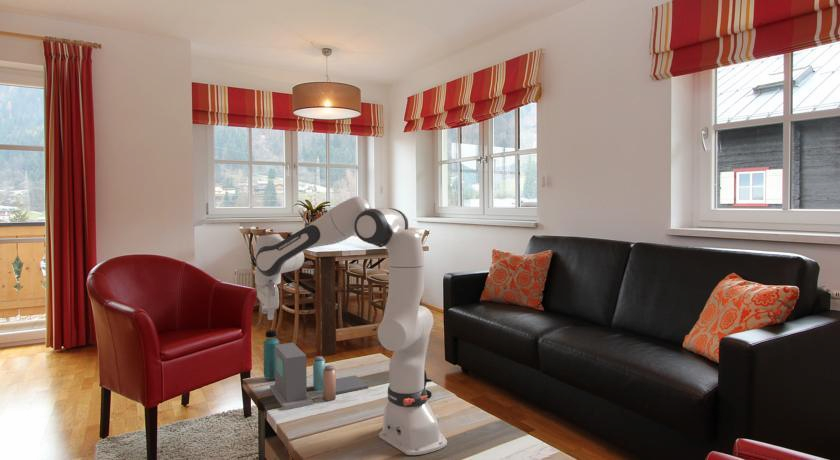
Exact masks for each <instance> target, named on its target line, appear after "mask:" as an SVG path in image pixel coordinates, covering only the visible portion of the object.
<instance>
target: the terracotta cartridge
mask: <svg viewBox="0 0 840 460" xmlns="http://www.w3.org/2000/svg"><path fill="white" fill-rule="evenodd" d="M336 369H337V368H336V367H334V365H331V364H329V365H325V368H324V369H323V389H322V392H323V393H322V394H323V395H322V396H323V397H322V399H323V401H325V402H333V401H335V400H336V396H337V395H336V379H337V378H336V377H337V376H336Z"/></svg>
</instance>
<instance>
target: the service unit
mask: <svg viewBox="0 0 840 460" xmlns="http://www.w3.org/2000/svg"><path fill="white" fill-rule="evenodd" d="M307 378H308V377H307V354H306V353H304V352H303V351H302V350H301V349H300V348H299V347H298V346H297V345H296V344H295V343H294V342H288V343H287V342H286V343H279V345H275V378H274V384H270V385H269V390H270V391H271V392H272V394H273V396H274V397H275V399H276V400H277V402H278V404H280V406H281V408H282V409H283V411H287V410H292V409H297V408H302V407H307V406H311V405H313V404H314V403H313V399H312V397H310V396H309V394H308V390H307V388H308V387H307V384H308V383H307Z"/></svg>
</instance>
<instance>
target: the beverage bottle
mask: <svg viewBox="0 0 840 460" xmlns="http://www.w3.org/2000/svg"><path fill="white" fill-rule="evenodd" d="M265 337H266V339H265V340H264V341H263V342H262V344H263V347H262V348H263V376H264V378H265V379H275V345H279V344H280V340H279V339H278V338H277V330H275V329H270V330H267V331H266V332H265Z"/></svg>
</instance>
